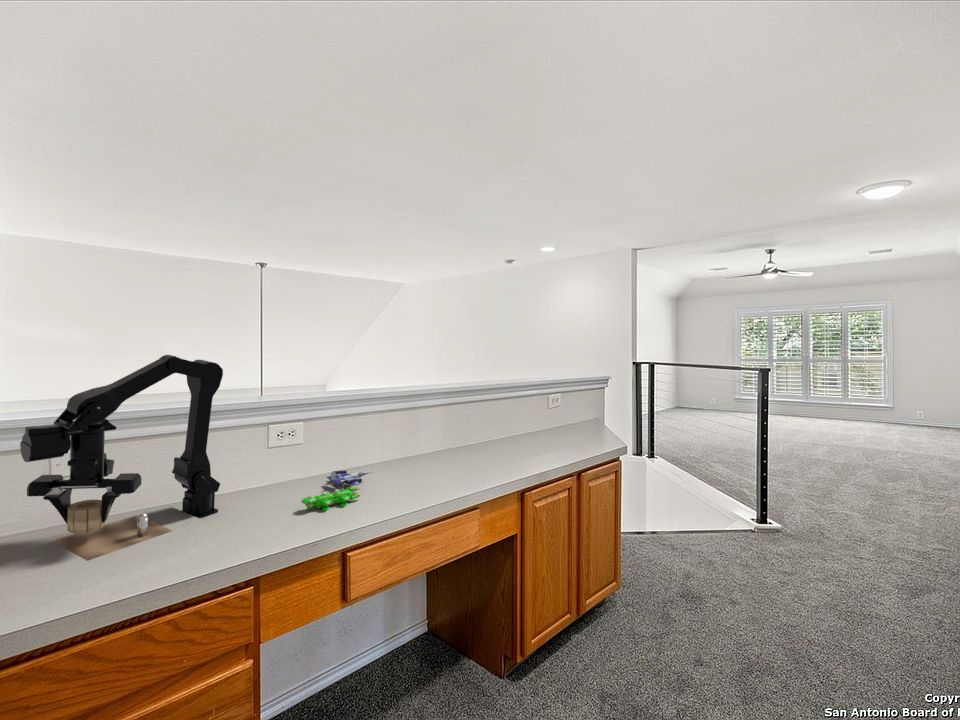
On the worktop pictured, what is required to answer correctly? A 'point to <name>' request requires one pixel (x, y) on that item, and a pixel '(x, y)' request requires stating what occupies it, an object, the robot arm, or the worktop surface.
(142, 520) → the silver metal cylinder
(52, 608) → the worktop surface
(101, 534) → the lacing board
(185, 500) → the robot arm
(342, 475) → the toy airplane
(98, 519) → the wooden octagonal holder
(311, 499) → the crocodile figurine
